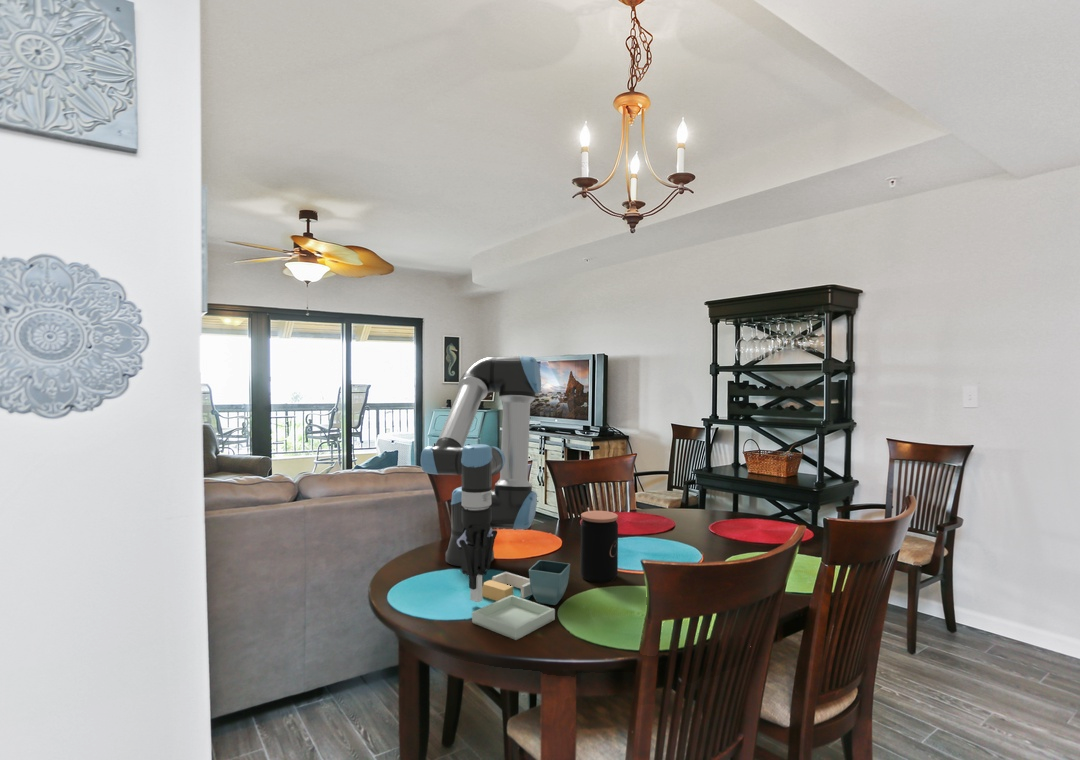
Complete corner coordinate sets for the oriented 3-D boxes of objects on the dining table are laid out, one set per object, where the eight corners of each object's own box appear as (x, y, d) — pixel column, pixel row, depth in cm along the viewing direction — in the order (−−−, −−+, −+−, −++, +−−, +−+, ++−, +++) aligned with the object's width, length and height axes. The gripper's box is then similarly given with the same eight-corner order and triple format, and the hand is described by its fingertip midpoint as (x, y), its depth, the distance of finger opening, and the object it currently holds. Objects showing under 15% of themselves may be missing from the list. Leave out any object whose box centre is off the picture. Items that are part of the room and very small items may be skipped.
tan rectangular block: (481, 596, 150) (481, 583, 150) (489, 592, 153) (490, 579, 153) (504, 604, 145) (504, 590, 145) (513, 599, 148) (513, 586, 148)
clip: (492, 587, 156) (492, 576, 156) (505, 582, 160) (505, 571, 160) (523, 598, 148) (523, 586, 148) (537, 592, 153) (537, 581, 153)
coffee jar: (616, 585, 158) (616, 520, 158) (578, 582, 160) (578, 518, 160) (618, 572, 169) (619, 511, 169) (582, 569, 171) (583, 509, 171)
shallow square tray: (472, 622, 133) (472, 612, 133) (511, 604, 144) (511, 594, 144) (516, 640, 125) (516, 628, 125) (554, 619, 135) (554, 609, 135)
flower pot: (570, 597, 149) (571, 563, 149) (561, 610, 141) (561, 573, 141) (539, 592, 152) (539, 559, 152) (527, 605, 144) (527, 569, 144)
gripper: (467, 513, 135) (467, 612, 136) (505, 504, 145) (504, 596, 146) (446, 509, 140) (446, 604, 140) (484, 500, 150) (484, 589, 150)
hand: (476, 600), depth 143 cm, fingers closed
